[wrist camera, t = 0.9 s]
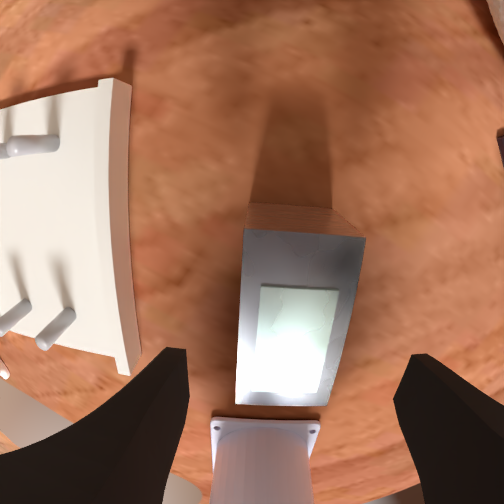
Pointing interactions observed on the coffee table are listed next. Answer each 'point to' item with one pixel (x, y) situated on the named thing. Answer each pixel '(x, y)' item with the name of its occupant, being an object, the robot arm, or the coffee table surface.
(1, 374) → the flower shoulder figurine
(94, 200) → the tray
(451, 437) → the robot arm
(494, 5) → the cereal bowl
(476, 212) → the coffee table surface
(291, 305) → the grey rectangular block
